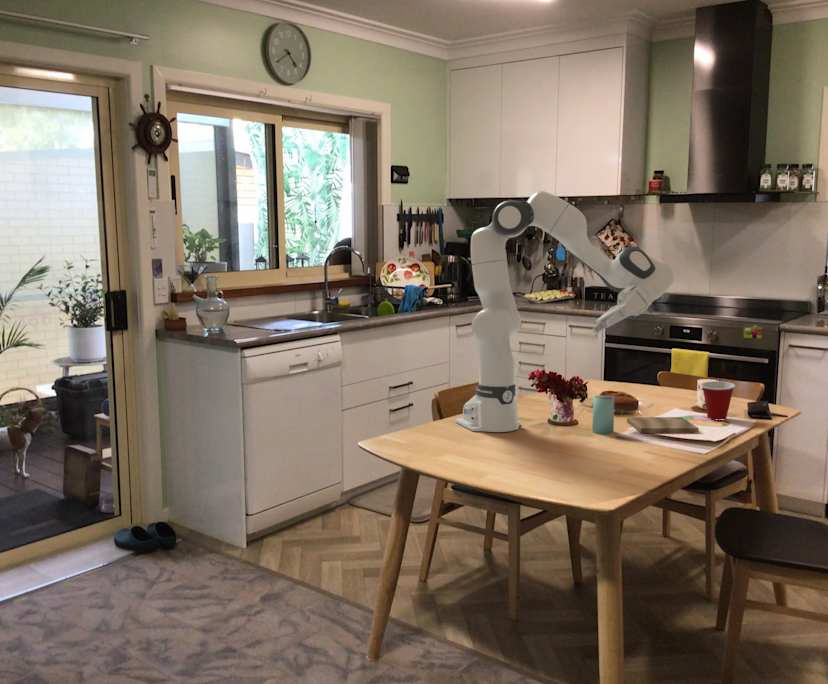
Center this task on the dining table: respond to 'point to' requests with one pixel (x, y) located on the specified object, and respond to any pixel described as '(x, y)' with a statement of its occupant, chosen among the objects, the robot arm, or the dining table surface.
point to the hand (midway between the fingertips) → (601, 327)
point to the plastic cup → (717, 398)
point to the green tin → (603, 414)
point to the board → (662, 425)
